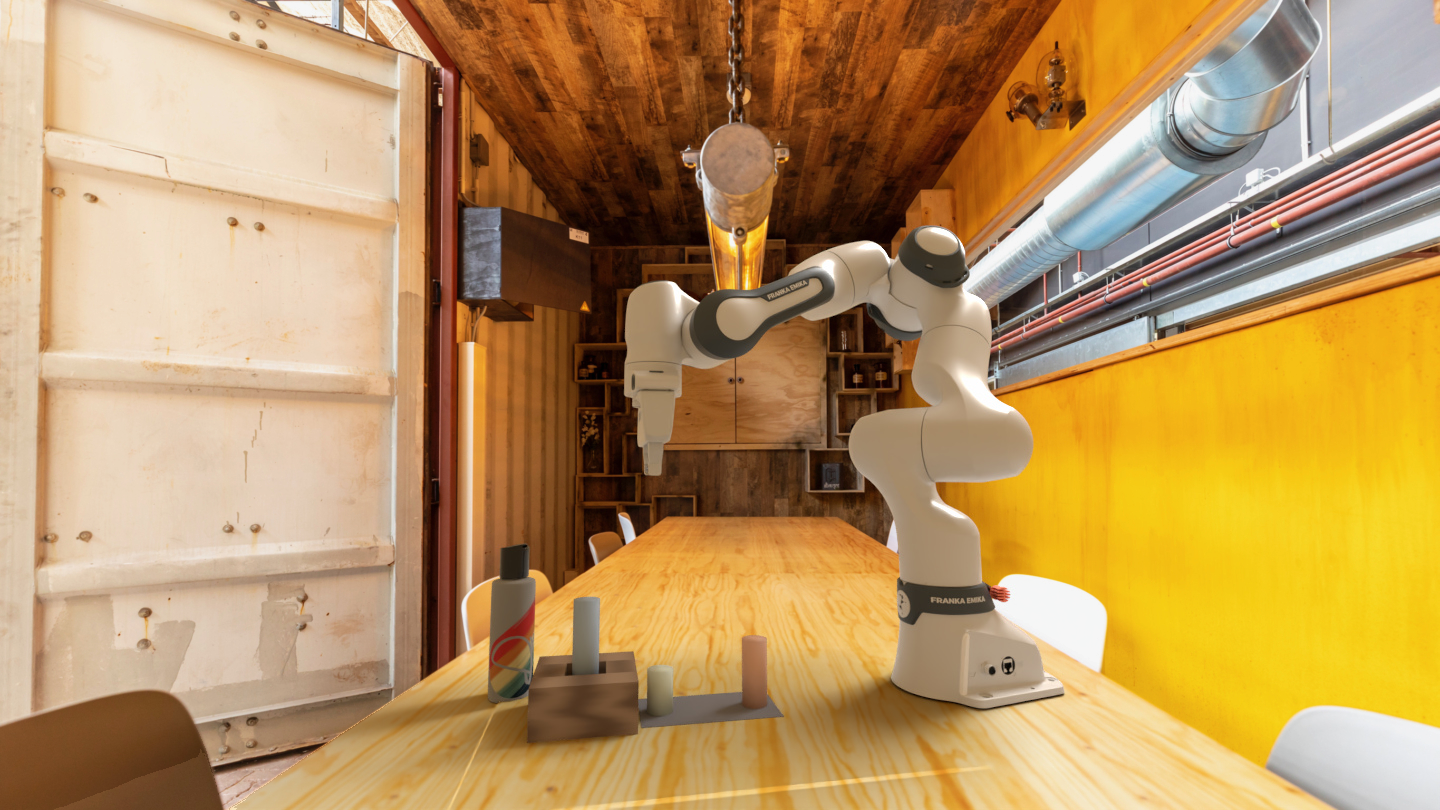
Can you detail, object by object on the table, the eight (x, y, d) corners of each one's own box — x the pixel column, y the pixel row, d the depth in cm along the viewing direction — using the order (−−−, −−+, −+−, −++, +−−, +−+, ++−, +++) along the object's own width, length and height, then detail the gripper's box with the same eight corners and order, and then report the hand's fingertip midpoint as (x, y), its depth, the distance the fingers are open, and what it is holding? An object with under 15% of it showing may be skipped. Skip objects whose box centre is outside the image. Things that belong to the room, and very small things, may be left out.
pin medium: (763, 698, 79) (763, 634, 80) (770, 707, 76) (769, 641, 77) (739, 700, 79) (739, 635, 80) (745, 709, 76) (744, 642, 76)
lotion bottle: (518, 705, 78) (523, 546, 80) (478, 702, 79) (484, 545, 81) (540, 690, 84) (544, 541, 86) (502, 687, 85) (507, 540, 87)
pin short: (671, 705, 77) (671, 664, 78) (674, 715, 74) (674, 672, 75) (645, 707, 76) (646, 665, 77) (647, 717, 73) (648, 673, 74)
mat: (764, 693, 82) (764, 690, 82) (784, 719, 73) (784, 716, 74) (637, 702, 79) (637, 699, 79) (641, 731, 70) (641, 727, 70)
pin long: (598, 712, 76) (600, 596, 78) (597, 722, 73) (599, 601, 74) (572, 713, 76) (574, 597, 77) (569, 724, 72) (572, 602, 74)
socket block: (632, 698, 80) (633, 651, 81) (637, 737, 69) (638, 681, 69) (538, 705, 78) (539, 656, 79) (526, 746, 67) (528, 688, 67)
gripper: (629, 393, 104) (628, 475, 103) (635, 374, 84) (634, 475, 83) (666, 394, 105) (666, 475, 104) (681, 375, 85) (681, 475, 84)
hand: (652, 475), depth 93 cm, fingers open, 8 cm apart
